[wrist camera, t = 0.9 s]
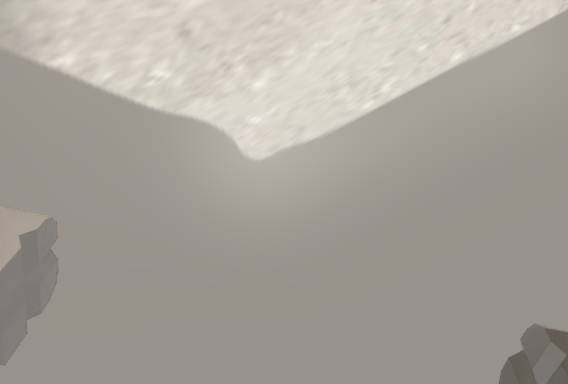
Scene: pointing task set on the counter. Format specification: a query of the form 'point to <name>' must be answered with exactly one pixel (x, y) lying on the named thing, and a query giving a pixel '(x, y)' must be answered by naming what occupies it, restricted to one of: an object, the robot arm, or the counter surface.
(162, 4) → the counter surface
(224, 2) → the counter surface
